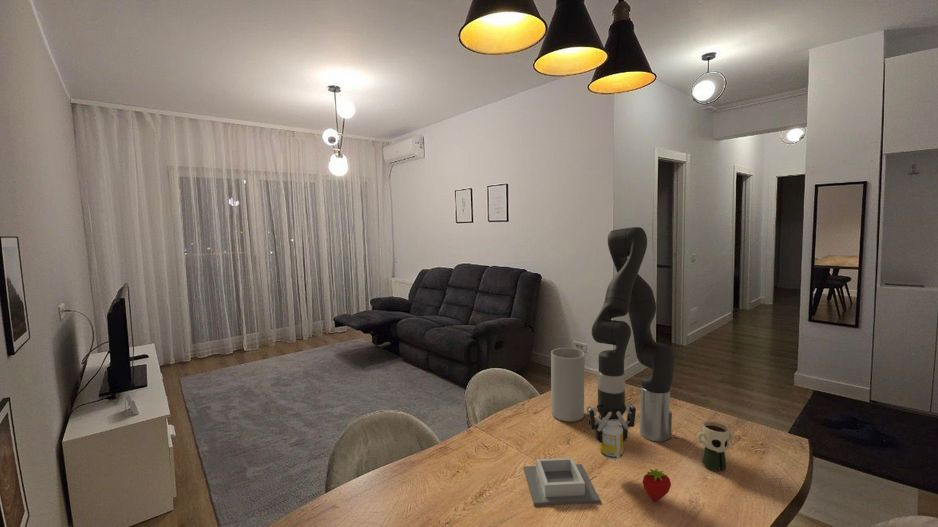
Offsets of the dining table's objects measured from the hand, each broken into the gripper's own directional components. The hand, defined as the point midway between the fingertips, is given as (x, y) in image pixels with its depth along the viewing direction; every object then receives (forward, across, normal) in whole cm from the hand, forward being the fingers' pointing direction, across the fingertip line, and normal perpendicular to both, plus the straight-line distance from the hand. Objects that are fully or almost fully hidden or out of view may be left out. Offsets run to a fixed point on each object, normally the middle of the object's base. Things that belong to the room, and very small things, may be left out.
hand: (611, 440), depth 119 cm
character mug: (+12, -32, -1) cm, 34 cm away
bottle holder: (+10, +17, +4) cm, 20 cm away
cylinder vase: (+11, +2, -37) cm, 39 cm away
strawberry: (+11, -7, +12) cm, 18 cm away
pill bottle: (+5, 0, 0) cm, 5 cm away
